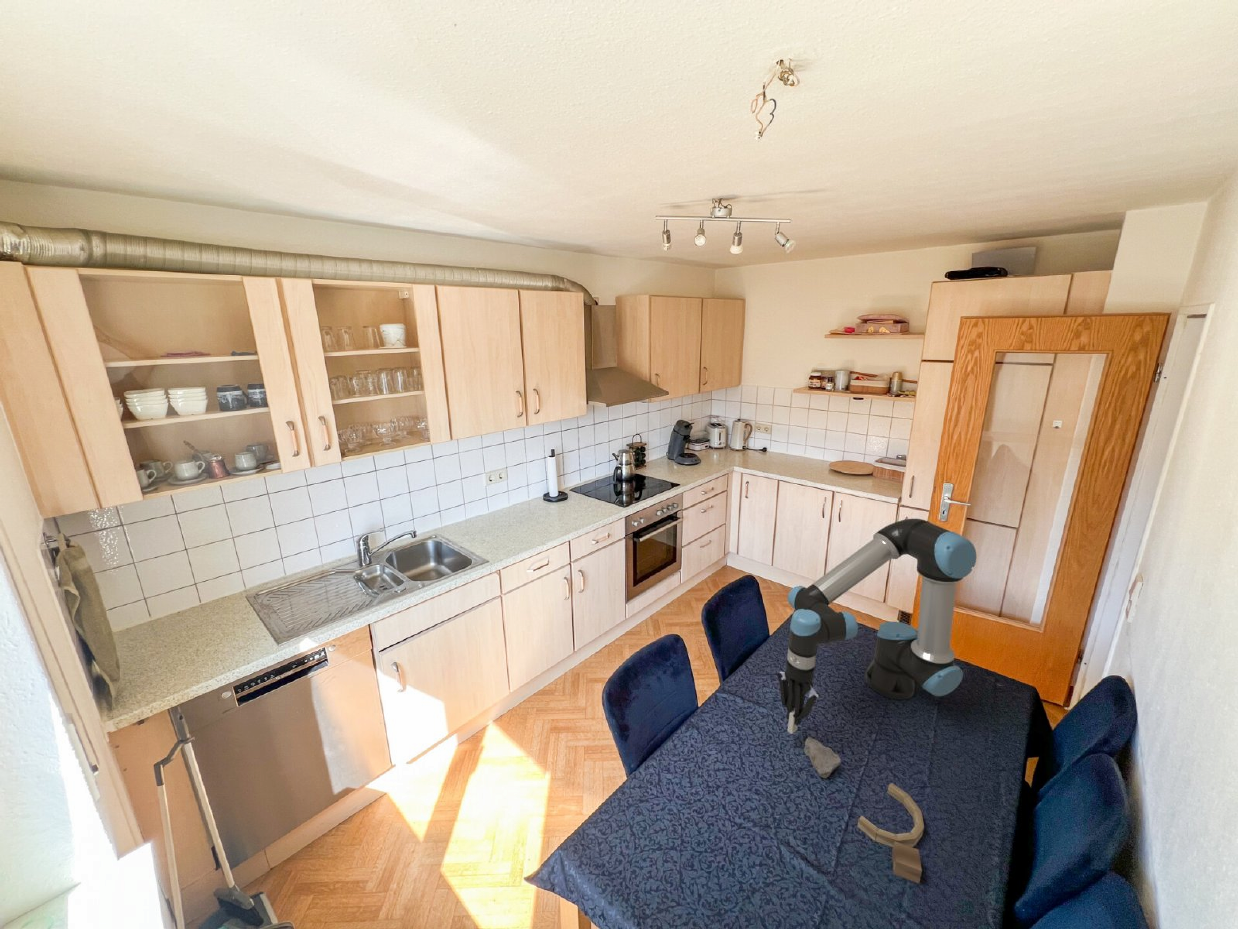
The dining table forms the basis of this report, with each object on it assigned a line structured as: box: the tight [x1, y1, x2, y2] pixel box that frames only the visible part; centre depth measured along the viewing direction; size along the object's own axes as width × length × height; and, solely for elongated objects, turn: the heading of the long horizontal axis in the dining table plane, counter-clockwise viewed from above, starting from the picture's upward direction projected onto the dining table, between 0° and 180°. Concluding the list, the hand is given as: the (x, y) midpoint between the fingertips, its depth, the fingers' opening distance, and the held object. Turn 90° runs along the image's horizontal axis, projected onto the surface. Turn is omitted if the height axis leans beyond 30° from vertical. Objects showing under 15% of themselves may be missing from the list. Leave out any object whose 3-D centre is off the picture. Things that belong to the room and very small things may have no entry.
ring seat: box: [856, 782, 925, 848], centre depth 122 cm, size 17×11×2 cm, turn 127°
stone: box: [803, 736, 842, 779], centre depth 139 cm, size 8×10×6 cm
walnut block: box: [891, 841, 923, 884], centre depth 112 cm, size 5×5×4 cm
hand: (792, 730), depth 145 cm, fingers closed
